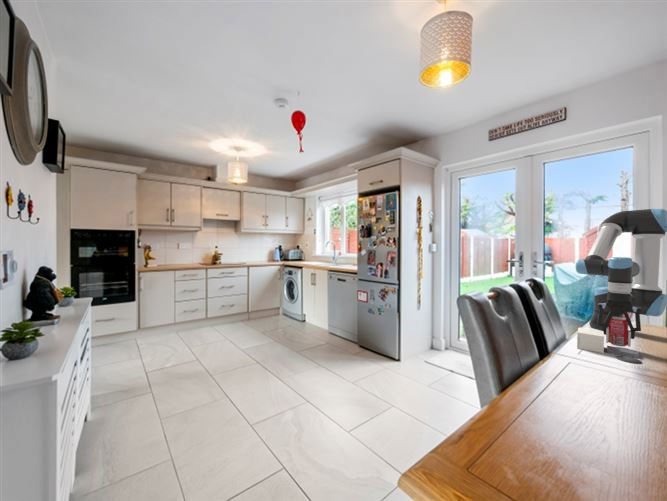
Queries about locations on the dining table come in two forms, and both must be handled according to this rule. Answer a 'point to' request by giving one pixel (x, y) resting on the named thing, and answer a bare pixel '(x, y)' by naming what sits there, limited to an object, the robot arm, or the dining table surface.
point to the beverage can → (618, 331)
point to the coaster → (628, 359)
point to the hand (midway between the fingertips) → (617, 343)
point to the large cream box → (590, 340)
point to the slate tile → (622, 351)
